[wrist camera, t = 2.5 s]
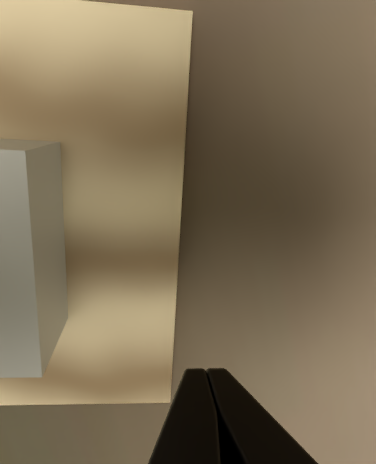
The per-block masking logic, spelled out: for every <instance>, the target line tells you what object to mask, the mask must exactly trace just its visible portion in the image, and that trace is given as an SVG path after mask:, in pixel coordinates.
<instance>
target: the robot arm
mask: <svg viewBox="0 0 376 464" xmlns="http://www.w3.org/2000/svg"><path fill="white" fill-rule="evenodd" d="M148 464H318V463H317V462H316V461H315V460H314V459H313V458H312V457H311V456H310V455H309V454H308V453H307V452H306V451H305V450H304V449H303V448H302V447H301V446H300V445H299V444H298V442H297V441H296V440H295V439H294V438H293V437H292V436H291V435H290V434H289V433H288V432H287V431H286V430H285V429H284V428H283V427H282V426H281V425H280V424H279V423H278V422H277V421H276V420H275V419H274V418H273V417H272V416H271V415H270V414H269V413H268V412H267V411H266V410H265V409H264V408H263V407H262V406H261V405H260V403H259V402H258V401H257V400H256V399H255V398H254V397H253V396H252V395H251V394H250V393H249V392H248V391H247V390H246V389H245V388H244V387H243V386H242V385H241V384H240V383H239V382H238V381H237V380H236V379H235V378H234V377H233V376H232V375H231V374H230V373H229V372H228V371H227V370H226V369H224V368H209V369H207V370H206V371H205V370H204V369H202V368H196V369H186V370H185V371H184V374H183V376H182V379H181V381H180V384H179V386H178V389H177V391H176V394H175V397H174V399H173V402H172V404H171V407H170V409H169V412H168V414H167V417H166V419H165V422H164V425H163V427H162V430H161V432H160V435H159V437H158V440H157V442H156V445H155V447H154V450H153V453H152V455H151V458H150V460H149V463H148Z"/></svg>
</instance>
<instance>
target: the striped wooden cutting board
mask: <svg viewBox="0 0 376 464" xmlns="http://www.w3.org/2000/svg"><path fill="white" fill-rule="evenodd" d="M192 15H193V11H187V10H176V9H166V8H155V7H145V6H134V5H124V4H113V3H103V2H92V1H82V0H0V139H18V140H36V141H54V142H60V150H61V172H62V194H63V216H64V237H65V259H66V281H67V303H68V320H67V322H66V324H65V326H64V329H63V331H62V333H61V336H60V338H59V340H58V342H57V345H56V347H55V349H54V352H53V354H52V356H51V358H50V361H49V363H48V365H47V367H46V370H45V372H44V374H43V377H27V378H0V405H53V404H117V403H170V398H171V381H172V363H173V346H174V328H175V311H176V294H177V276H178V259H179V241H180V224H181V206H182V189H183V171H184V154H185V137H186V119H187V102H188V84H189V67H190V49H191V32H192Z"/></svg>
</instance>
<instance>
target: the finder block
mask: <svg viewBox="0 0 376 464" xmlns="http://www.w3.org/2000/svg"><path fill="white" fill-rule="evenodd" d="M67 320H68V303H67V281H66V259H65V237H64V216H63V194H62V172H61V150H60V142H54V141H36V140H18V139H0V378H27V377H43V374H44V372H45V370H46V367H47V365H48V363H49V361H50V358H51V356H52V354H53V352H54V349H55V347H56V345H57V342H58V340H59V338H60V336H61V333H62V331H63V329H64V326H65V324H66V322H67Z"/></svg>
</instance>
